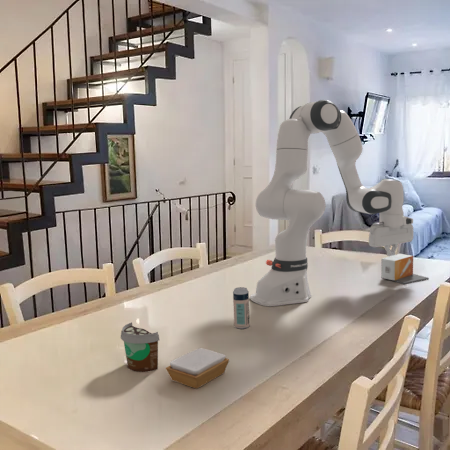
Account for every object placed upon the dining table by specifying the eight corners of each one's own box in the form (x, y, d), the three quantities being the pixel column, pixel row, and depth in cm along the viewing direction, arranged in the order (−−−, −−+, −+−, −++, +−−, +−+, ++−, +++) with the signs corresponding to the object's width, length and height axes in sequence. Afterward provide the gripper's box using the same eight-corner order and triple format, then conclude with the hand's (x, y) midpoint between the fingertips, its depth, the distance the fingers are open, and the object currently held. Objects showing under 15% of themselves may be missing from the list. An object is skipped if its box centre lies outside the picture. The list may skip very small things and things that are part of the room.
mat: (404, 284, 199) (404, 282, 199) (381, 277, 209) (381, 276, 209) (428, 279, 204) (428, 277, 204) (405, 273, 215) (405, 271, 215)
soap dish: (196, 393, 117) (195, 372, 116) (165, 382, 123) (164, 362, 122) (230, 373, 127) (229, 353, 126) (200, 364, 133) (199, 345, 132)
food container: (113, 365, 134) (110, 328, 132) (133, 357, 138) (130, 321, 136) (141, 378, 125) (138, 339, 123) (161, 370, 129) (159, 332, 128)
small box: (395, 260, 200) (413, 255, 208) (381, 258, 205) (399, 253, 213) (394, 281, 202) (413, 274, 210) (380, 278, 207) (399, 272, 215)
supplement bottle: (246, 323, 161) (244, 286, 160) (252, 328, 157) (251, 289, 155) (231, 325, 160) (230, 288, 158) (237, 330, 155) (236, 291, 154)
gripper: (376, 224, 193) (376, 260, 195) (416, 218, 202) (415, 253, 204) (364, 222, 198) (364, 257, 200) (404, 217, 207) (403, 250, 209)
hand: (391, 255), depth 202 cm, fingers closed
